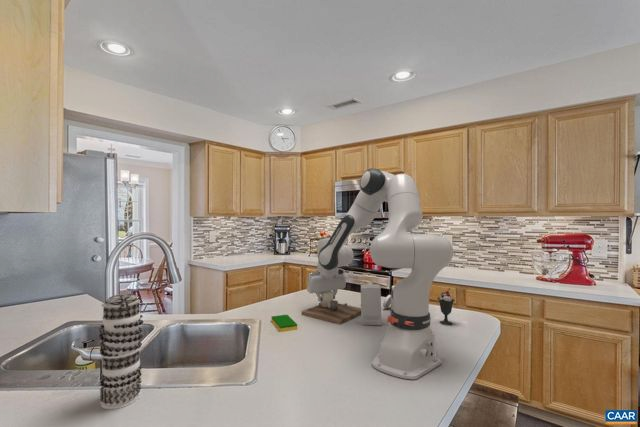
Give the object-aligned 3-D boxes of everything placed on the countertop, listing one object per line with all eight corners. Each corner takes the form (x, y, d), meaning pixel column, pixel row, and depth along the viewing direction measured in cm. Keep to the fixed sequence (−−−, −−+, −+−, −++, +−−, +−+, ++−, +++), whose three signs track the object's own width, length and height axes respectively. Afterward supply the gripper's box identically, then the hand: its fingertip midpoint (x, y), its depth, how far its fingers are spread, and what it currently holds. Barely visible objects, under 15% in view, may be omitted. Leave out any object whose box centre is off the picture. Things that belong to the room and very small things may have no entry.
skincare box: (380, 320, 135) (380, 284, 135) (381, 326, 129) (381, 287, 129) (360, 320, 136) (360, 283, 136) (360, 325, 130) (361, 287, 130)
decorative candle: (150, 388, 82) (150, 291, 82) (129, 409, 73) (130, 301, 73) (114, 388, 82) (114, 291, 82) (89, 410, 73) (89, 301, 73)
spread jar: (408, 315, 142) (408, 289, 142) (382, 314, 145) (382, 288, 145) (406, 308, 154) (406, 284, 154) (383, 306, 156) (383, 282, 156)
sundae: (452, 327, 128) (452, 289, 128) (435, 323, 132) (435, 287, 132) (456, 322, 133) (456, 286, 133) (440, 319, 137) (440, 284, 137)
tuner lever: (341, 309, 145) (341, 294, 145) (330, 311, 142) (330, 296, 142) (328, 303, 155) (328, 289, 155) (318, 304, 152) (318, 291, 152)
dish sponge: (280, 333, 122) (280, 326, 122) (271, 321, 135) (271, 316, 135) (297, 330, 125) (297, 324, 125) (287, 319, 138) (287, 314, 138)
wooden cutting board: (340, 324, 130) (340, 318, 130) (301, 314, 143) (301, 309, 143) (365, 312, 147) (365, 306, 147) (328, 304, 160) (328, 299, 160)
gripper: (311, 274, 143) (311, 305, 143) (347, 270, 154) (347, 298, 154) (304, 272, 148) (304, 301, 148) (340, 268, 159) (340, 295, 159)
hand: (326, 300), depth 151 cm, fingers closed on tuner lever, 6 cm apart
